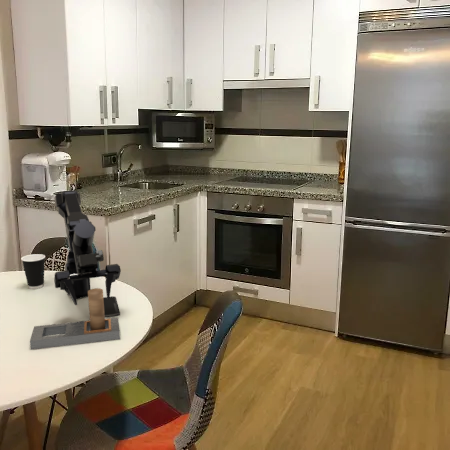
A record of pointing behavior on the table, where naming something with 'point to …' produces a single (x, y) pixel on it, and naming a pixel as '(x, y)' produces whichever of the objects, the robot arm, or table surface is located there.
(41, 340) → the plate with square holes
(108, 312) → the phone
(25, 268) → the dixie cup
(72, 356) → the table surface
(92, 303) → the peg
